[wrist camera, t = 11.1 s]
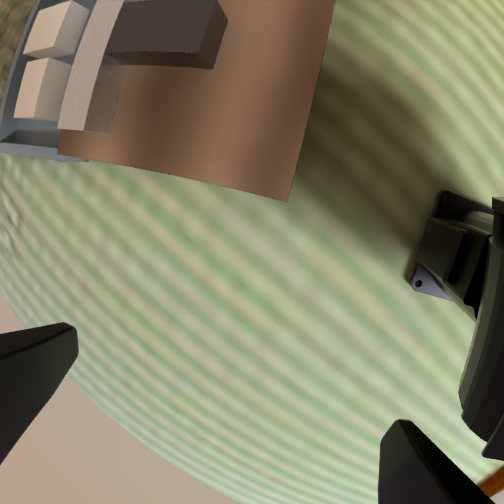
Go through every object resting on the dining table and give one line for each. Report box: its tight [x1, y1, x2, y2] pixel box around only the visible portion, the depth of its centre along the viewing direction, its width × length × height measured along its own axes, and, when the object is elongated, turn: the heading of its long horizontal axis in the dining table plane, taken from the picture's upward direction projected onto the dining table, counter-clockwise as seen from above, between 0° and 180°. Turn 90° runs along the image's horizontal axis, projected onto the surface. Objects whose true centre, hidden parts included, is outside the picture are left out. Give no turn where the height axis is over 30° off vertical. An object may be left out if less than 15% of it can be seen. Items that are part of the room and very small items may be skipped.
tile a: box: [23, 0, 90, 59], centre depth 14 cm, size 4×4×2 cm
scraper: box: [57, 0, 228, 134], centre depth 11 cm, size 2×11×7 cm
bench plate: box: [57, 0, 335, 202], centre depth 14 cm, size 14×14×4 cm
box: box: [0, 0, 97, 162], centre depth 15 cm, size 10×15×2 cm, turn 167°
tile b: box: [13, 58, 73, 121], centre depth 15 cm, size 4×4×2 cm
